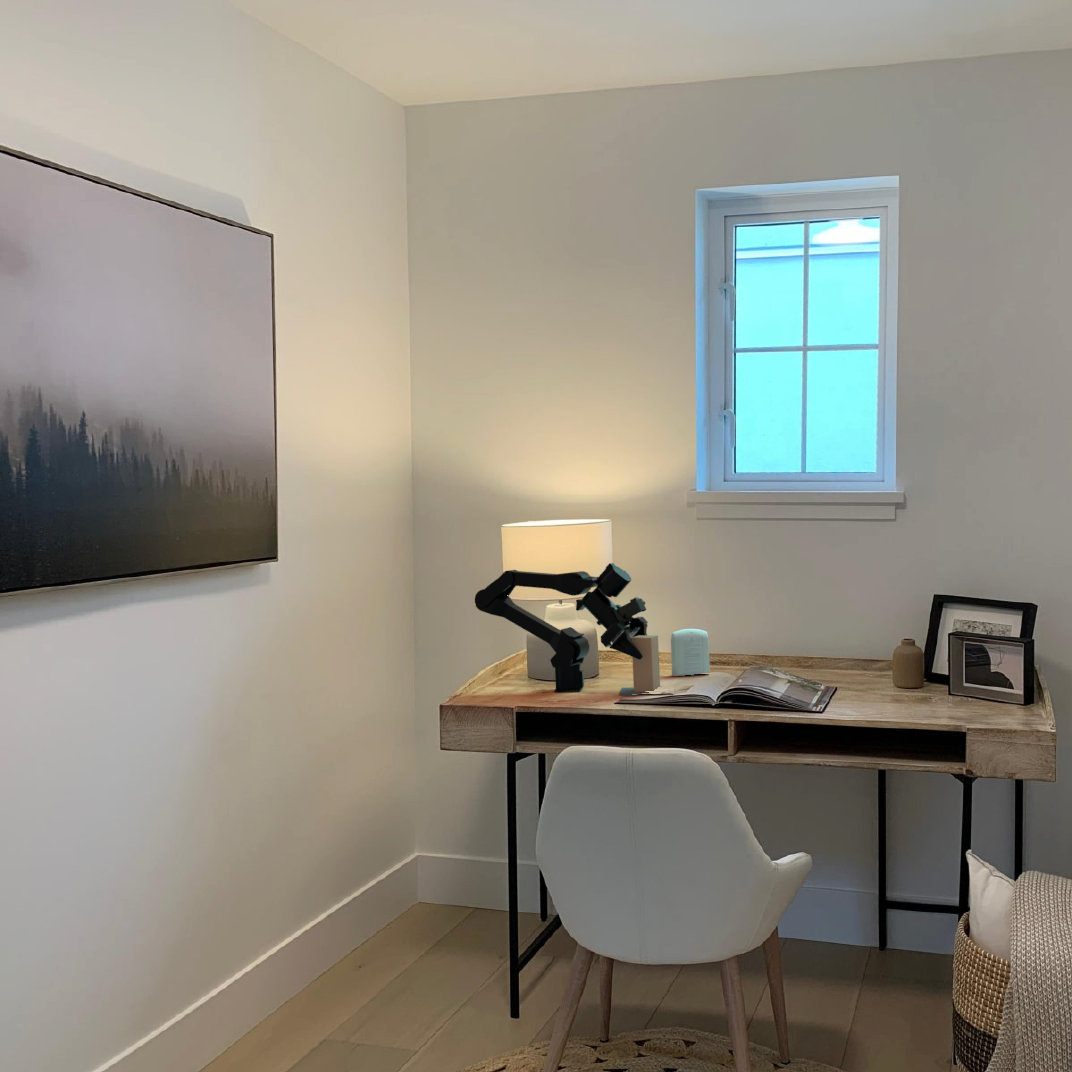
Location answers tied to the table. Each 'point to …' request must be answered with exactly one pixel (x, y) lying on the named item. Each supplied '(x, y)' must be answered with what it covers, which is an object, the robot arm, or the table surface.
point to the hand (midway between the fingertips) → (648, 655)
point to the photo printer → (689, 652)
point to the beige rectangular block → (646, 663)
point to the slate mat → (629, 691)
